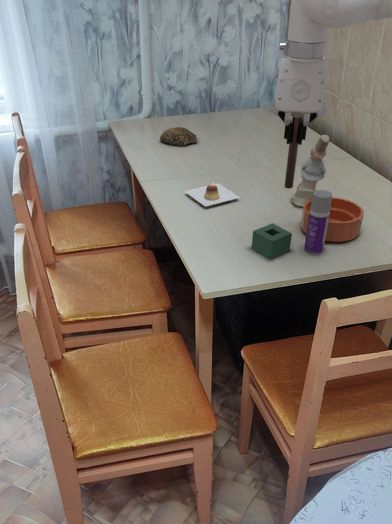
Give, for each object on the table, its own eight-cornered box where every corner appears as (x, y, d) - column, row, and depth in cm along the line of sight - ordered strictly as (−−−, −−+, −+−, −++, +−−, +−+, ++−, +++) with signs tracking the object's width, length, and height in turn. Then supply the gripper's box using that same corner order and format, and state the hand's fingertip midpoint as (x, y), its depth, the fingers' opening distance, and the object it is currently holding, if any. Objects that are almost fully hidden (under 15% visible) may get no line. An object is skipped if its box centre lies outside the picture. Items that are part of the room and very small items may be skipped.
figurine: (319, 210, 154) (331, 138, 141) (289, 207, 156) (298, 135, 143) (321, 197, 161) (332, 127, 148) (292, 194, 162) (301, 125, 149)
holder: (289, 251, 136) (292, 233, 133) (270, 259, 133) (272, 241, 129) (270, 240, 140) (272, 223, 137) (251, 248, 137) (252, 230, 134)
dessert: (204, 210, 154) (205, 193, 151) (183, 194, 162) (183, 179, 158) (239, 201, 158) (240, 185, 155) (217, 186, 166) (218, 171, 163)
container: (302, 253, 135) (311, 196, 125) (305, 244, 138) (314, 188, 129) (321, 256, 134) (331, 199, 124) (324, 247, 137) (334, 191, 128)
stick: (294, 187, 128) (303, 116, 117) (288, 189, 127) (297, 118, 117) (288, 184, 129) (297, 114, 119) (282, 186, 128) (290, 116, 118)
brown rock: (155, 141, 197) (154, 127, 194) (178, 132, 204) (177, 119, 201) (181, 149, 191) (181, 135, 188) (204, 140, 198) (204, 126, 195)
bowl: (371, 232, 144) (376, 211, 140) (332, 250, 136) (336, 228, 132) (326, 212, 153) (330, 192, 149) (288, 227, 146) (291, 206, 142)
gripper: (265, 52, 107) (257, 146, 119) (346, 55, 106) (331, 150, 118) (266, 45, 113) (259, 135, 125) (343, 47, 112) (329, 138, 123)
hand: (294, 141), depth 121 cm, fingers closed on stick, 2 cm apart
